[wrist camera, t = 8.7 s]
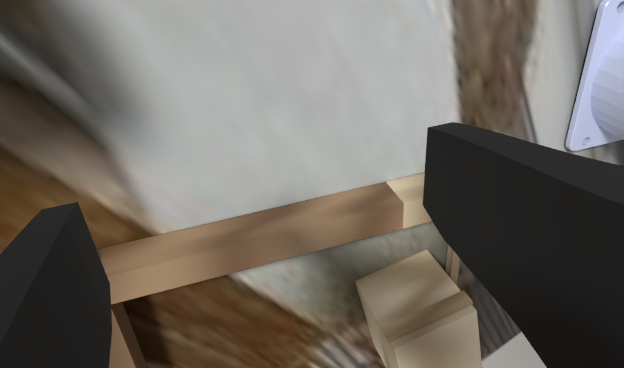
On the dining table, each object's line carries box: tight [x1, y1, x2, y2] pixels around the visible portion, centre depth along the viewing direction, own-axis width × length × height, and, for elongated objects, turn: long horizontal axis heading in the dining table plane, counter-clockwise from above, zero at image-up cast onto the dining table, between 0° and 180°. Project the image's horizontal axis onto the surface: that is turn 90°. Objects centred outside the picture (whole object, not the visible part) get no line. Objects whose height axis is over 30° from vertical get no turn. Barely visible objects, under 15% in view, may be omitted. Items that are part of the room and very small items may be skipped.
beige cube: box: [355, 250, 482, 368], centre depth 27 cm, size 5×6×5 cm
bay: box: [97, 173, 460, 368], centre depth 27 cm, size 20×17×2 cm
